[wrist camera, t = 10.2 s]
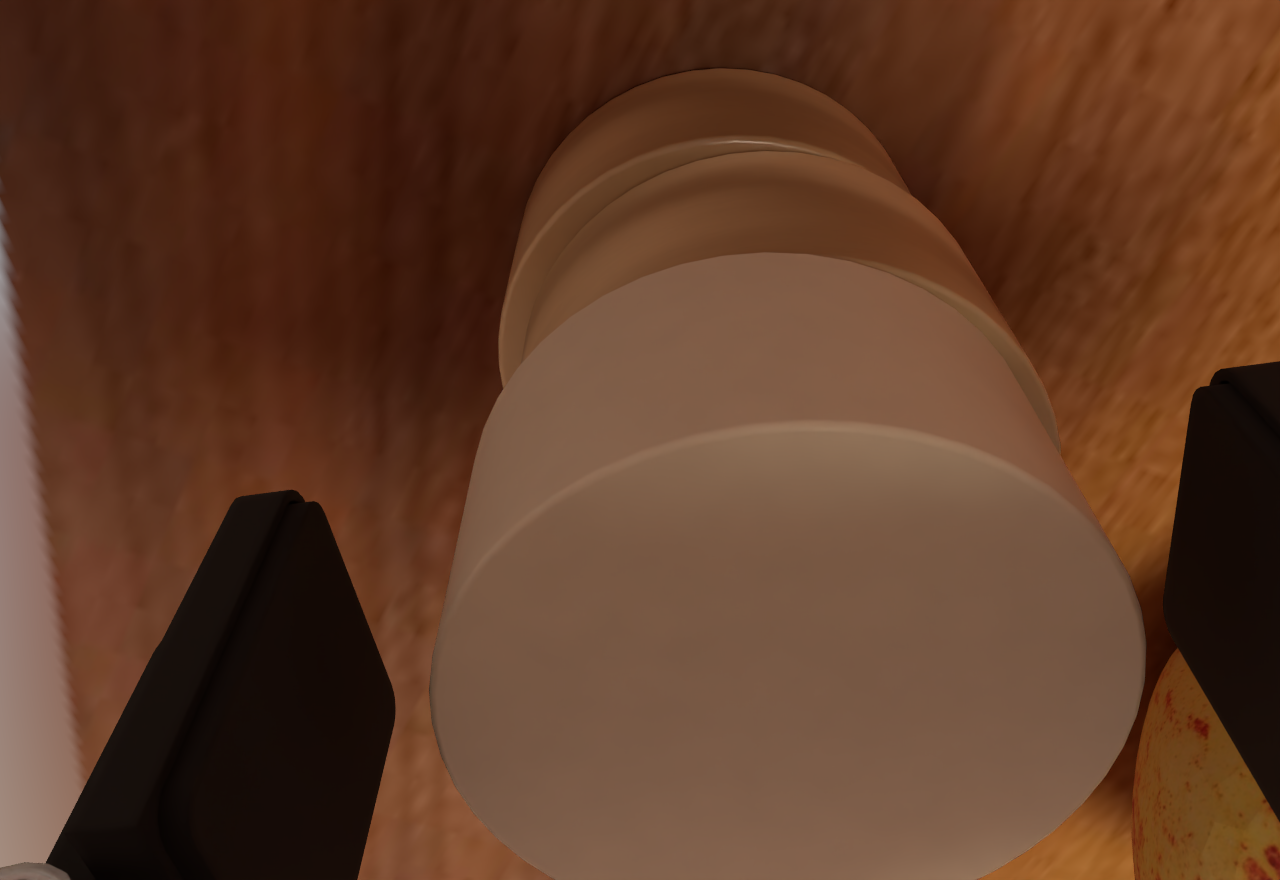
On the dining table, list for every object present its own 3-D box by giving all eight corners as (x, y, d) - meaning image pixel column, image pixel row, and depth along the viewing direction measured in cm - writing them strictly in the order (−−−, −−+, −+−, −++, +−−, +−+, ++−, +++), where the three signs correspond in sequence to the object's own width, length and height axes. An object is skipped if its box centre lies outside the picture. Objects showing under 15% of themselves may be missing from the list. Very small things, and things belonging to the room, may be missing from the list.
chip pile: (561, 463, 19) (535, 735, 14) (476, 102, 15) (402, 289, 10) (934, 415, 18) (1048, 680, 13) (932, 31, 15) (1083, 190, 10)
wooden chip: (535, 730, 14) (513, 956, 11) (406, 298, 10) (334, 481, 8) (1025, 675, 13) (1116, 901, 11) (1051, 205, 10) (1193, 370, 7)
